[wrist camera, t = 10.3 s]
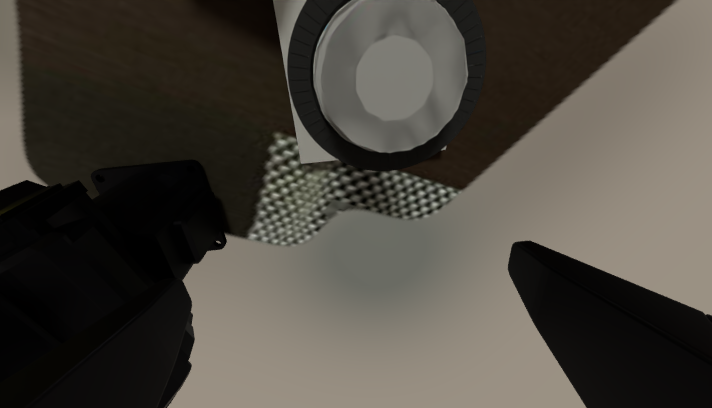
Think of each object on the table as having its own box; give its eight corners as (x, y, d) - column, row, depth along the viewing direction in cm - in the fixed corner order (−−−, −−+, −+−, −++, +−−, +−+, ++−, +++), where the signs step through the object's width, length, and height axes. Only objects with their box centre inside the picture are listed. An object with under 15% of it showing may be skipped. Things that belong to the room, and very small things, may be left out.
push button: (434, 106, 17) (541, 163, 8) (354, 152, 18) (373, 247, 9) (382, -17, 14) (460, -131, 6) (291, 44, 15) (231, 30, 6)
